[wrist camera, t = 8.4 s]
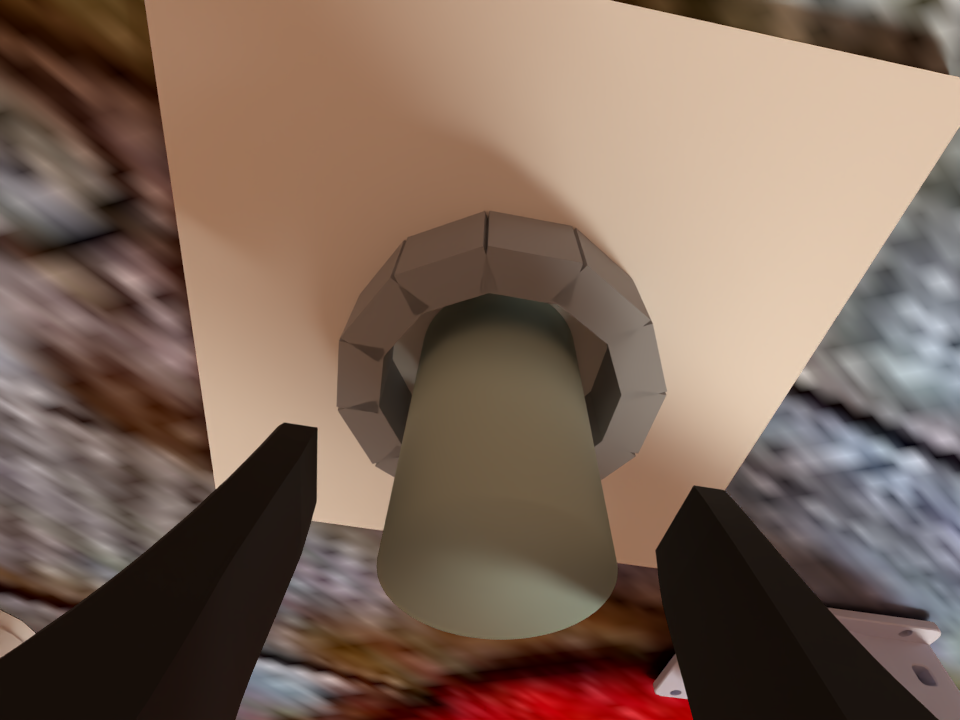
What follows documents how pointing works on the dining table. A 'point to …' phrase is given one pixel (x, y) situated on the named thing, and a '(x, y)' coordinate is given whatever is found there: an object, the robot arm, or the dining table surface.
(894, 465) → the dining table surface
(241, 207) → the socket plate
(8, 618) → the foam cup
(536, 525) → the grey rounded piece
